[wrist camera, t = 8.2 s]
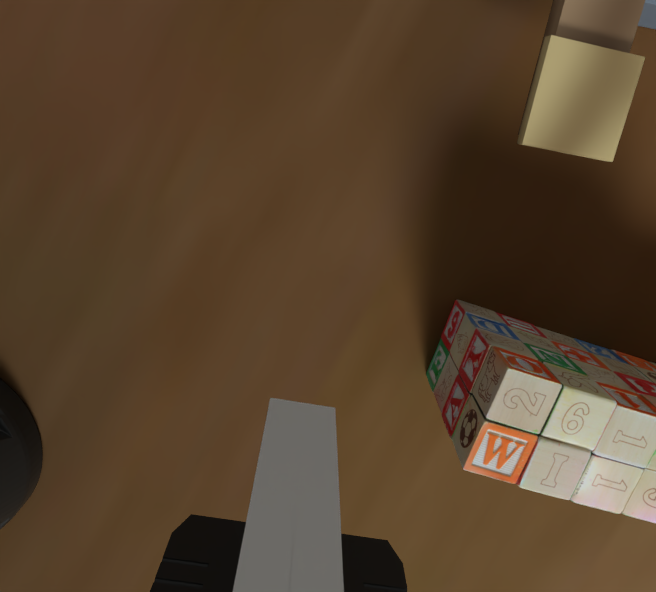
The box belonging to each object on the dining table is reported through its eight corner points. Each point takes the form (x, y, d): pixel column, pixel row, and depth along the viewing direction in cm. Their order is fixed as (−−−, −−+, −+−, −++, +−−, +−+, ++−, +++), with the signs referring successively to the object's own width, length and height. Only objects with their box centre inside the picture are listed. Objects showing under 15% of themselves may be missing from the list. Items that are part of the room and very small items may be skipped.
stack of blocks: (722, 381, 42) (879, 480, 30) (681, 452, 43) (816, 573, 31) (453, 297, 40) (508, 367, 28) (422, 375, 41) (461, 472, 29)
